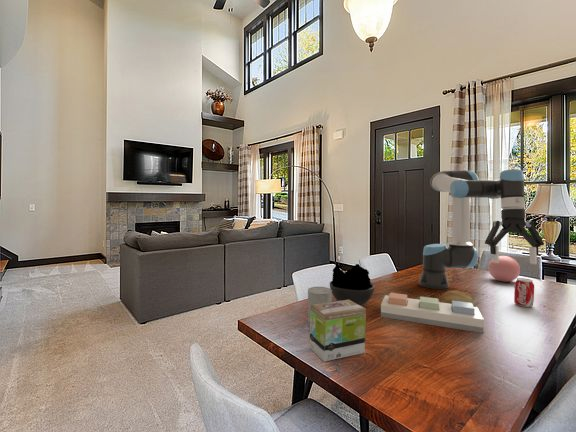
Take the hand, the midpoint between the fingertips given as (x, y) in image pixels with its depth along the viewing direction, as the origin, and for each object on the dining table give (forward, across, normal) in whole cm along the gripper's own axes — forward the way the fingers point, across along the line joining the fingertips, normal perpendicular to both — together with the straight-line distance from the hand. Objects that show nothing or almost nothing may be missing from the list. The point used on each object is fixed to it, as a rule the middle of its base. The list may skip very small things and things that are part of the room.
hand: (514, 263), depth 117 cm
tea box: (+28, -70, -25) cm, 79 cm away
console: (+24, -30, +5) cm, 39 cm away
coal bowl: (+22, -60, +17) cm, 67 cm away
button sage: (+19, -31, +5) cm, 36 cm away
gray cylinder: (+25, -75, -2) cm, 79 cm away
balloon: (+15, +36, +70) cm, 80 cm away
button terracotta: (+19, -42, +9) cm, 47 cm away
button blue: (+20, -19, +1) cm, 28 cm away
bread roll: (+22, -13, +18) cm, 32 cm away
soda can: (+21, +19, +25) cm, 38 cm away
